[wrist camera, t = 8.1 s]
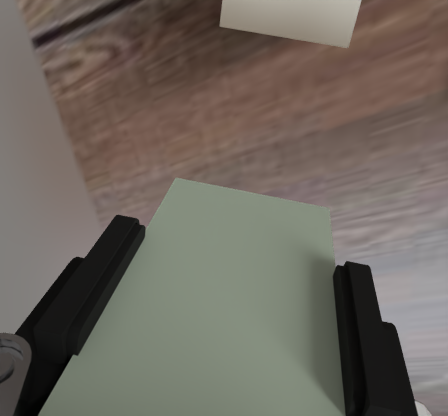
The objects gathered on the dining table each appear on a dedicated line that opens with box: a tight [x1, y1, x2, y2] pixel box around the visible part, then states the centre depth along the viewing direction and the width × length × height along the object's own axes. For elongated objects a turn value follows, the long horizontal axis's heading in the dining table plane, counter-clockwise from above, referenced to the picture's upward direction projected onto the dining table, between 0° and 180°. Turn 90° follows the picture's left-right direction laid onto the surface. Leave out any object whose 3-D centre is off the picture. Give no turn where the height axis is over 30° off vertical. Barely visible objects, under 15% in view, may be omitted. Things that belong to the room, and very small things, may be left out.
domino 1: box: [38, 178, 346, 416], centre depth 10 cm, size 2×5×10 cm, turn 82°
